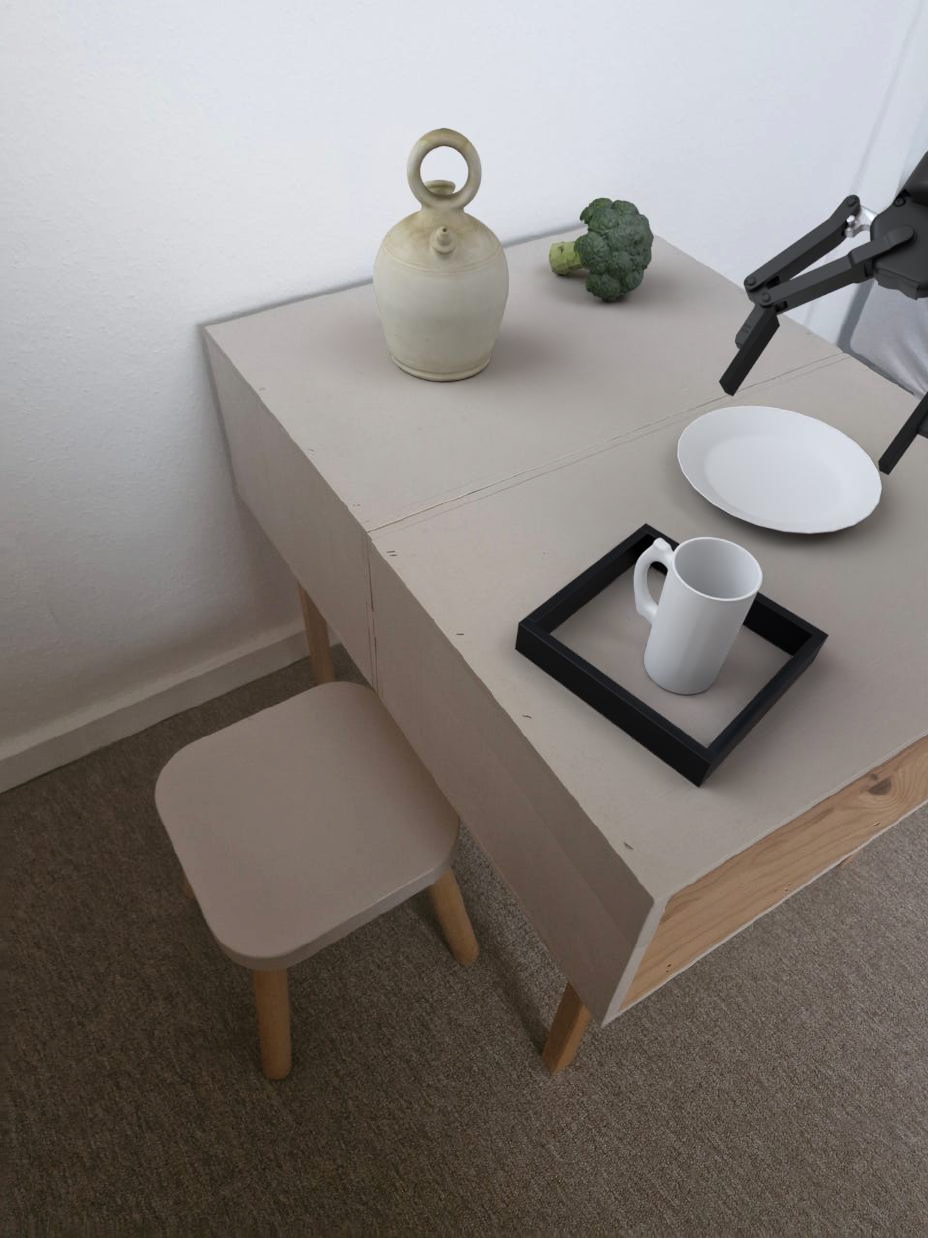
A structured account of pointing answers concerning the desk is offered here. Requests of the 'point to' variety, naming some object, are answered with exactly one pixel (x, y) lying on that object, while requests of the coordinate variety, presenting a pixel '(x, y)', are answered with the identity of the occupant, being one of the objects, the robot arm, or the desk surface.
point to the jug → (441, 274)
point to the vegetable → (608, 248)
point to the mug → (695, 609)
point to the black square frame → (625, 706)
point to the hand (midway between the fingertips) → (800, 427)
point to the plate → (779, 469)
